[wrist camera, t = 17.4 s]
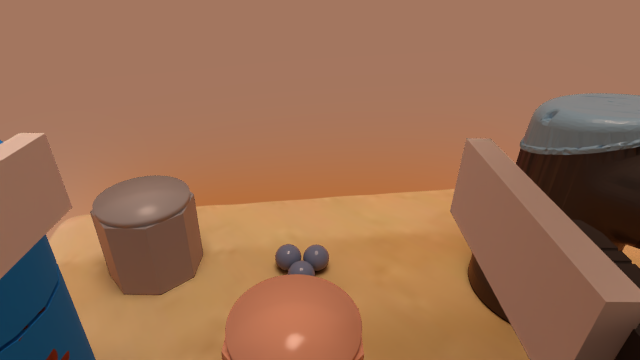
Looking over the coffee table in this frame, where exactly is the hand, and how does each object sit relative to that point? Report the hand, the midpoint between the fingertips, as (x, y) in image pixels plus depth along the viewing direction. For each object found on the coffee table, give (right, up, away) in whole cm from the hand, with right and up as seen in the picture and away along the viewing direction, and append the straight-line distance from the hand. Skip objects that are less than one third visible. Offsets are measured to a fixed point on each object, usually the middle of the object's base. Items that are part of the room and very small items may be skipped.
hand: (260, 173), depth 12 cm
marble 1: (-2, -11, +36) cm, 37 cm away
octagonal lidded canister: (0, -19, +21) cm, 28 cm away
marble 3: (+1, -11, +36) cm, 37 cm away
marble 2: (0, -13, +33) cm, 35 cm away
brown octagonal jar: (-18, -11, +35) cm, 41 cm away
